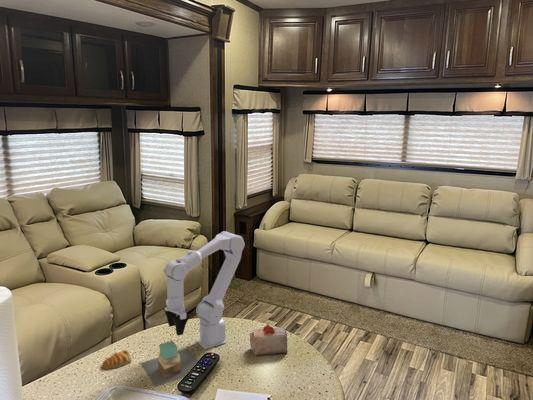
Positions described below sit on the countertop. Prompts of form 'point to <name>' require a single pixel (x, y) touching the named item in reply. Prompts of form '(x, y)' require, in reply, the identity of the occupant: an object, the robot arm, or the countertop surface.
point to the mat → (157, 378)
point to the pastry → (117, 360)
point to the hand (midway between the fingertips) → (176, 330)
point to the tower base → (169, 370)
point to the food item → (268, 341)
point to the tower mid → (169, 361)
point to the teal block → (168, 350)
